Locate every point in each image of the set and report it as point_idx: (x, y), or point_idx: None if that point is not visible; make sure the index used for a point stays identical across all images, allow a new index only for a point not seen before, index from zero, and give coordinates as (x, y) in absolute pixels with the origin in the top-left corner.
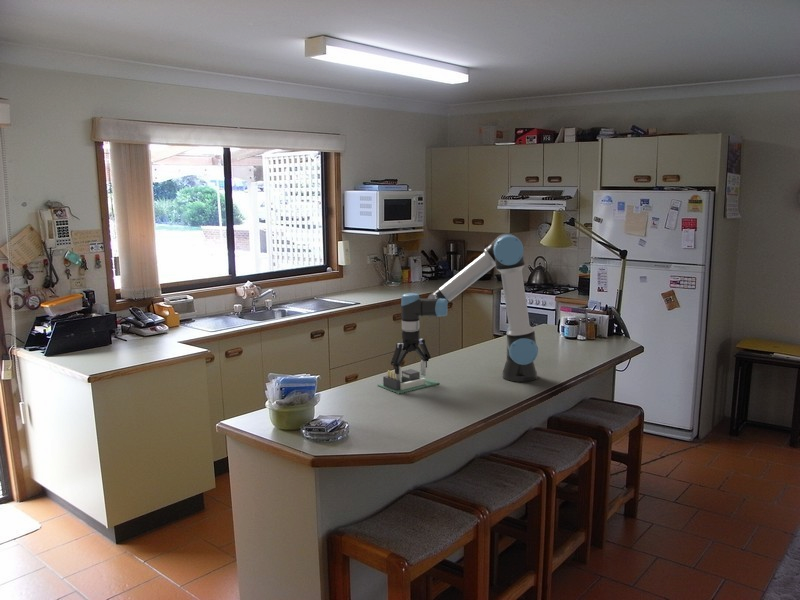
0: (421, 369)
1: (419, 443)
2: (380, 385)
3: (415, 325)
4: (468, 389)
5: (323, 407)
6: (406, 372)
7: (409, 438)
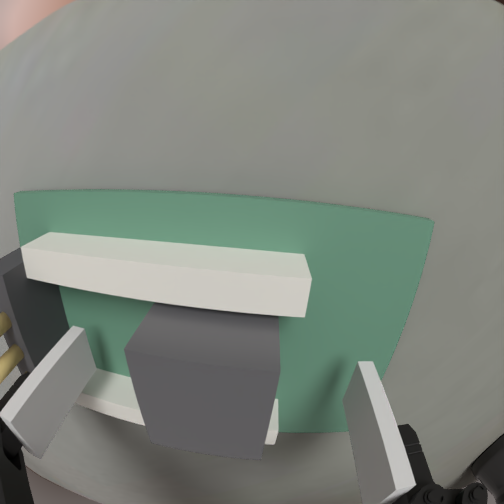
0: (367, 411)
1: (52, 480)
2: (18, 225)
3: None
4: (352, 484)
5: None
6: (143, 407)
7: (42, 470)
